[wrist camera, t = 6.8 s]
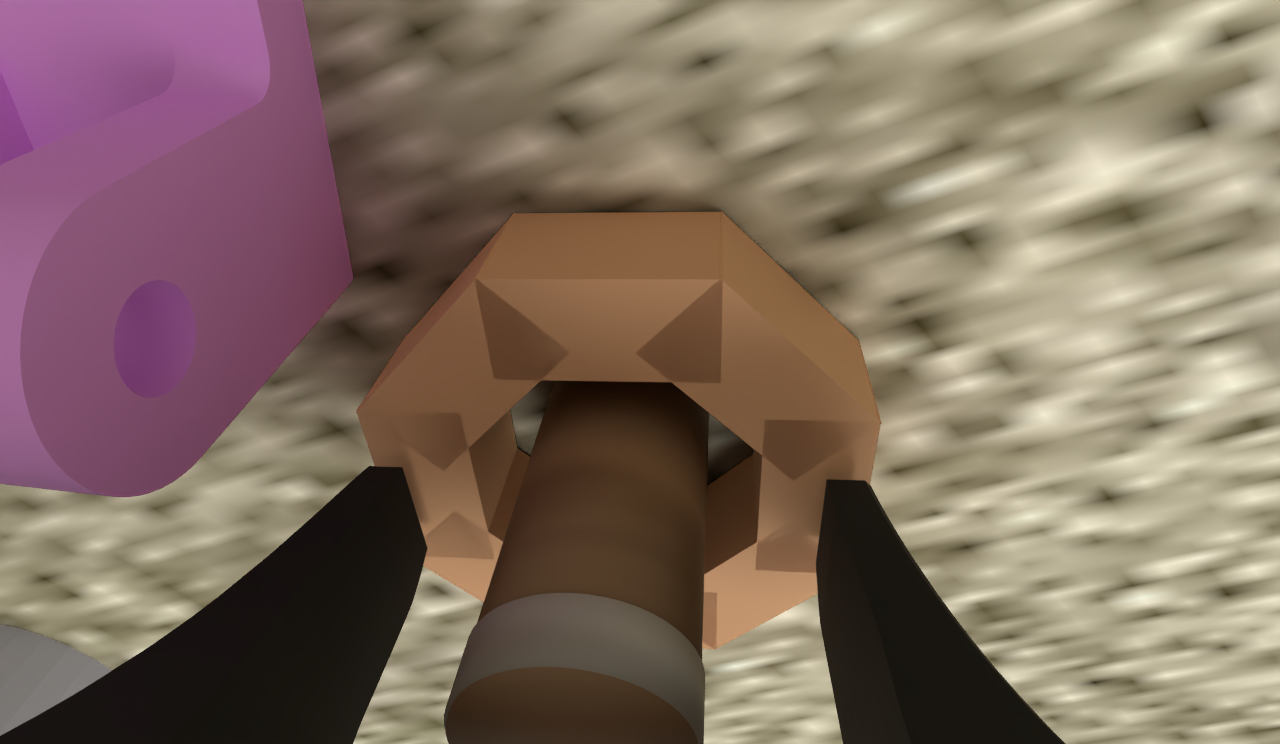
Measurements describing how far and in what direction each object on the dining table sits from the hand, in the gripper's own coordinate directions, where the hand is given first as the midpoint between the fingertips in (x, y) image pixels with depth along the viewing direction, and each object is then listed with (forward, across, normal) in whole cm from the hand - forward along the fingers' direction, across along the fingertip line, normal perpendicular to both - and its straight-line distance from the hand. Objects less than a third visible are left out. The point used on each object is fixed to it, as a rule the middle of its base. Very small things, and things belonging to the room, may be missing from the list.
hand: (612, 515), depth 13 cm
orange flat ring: (+3, 0, 0) cm, 3 cm away
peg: (+3, 0, 0) cm, 3 cm away
